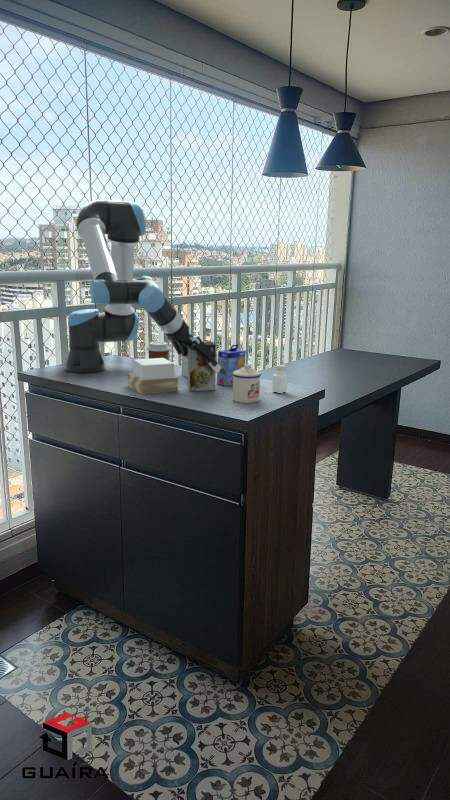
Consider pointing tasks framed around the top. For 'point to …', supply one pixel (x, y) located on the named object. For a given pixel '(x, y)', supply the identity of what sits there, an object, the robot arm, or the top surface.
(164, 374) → the tower top
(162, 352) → the coffee cup
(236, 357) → the blue upright box
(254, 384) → the teacup with lid
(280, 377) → the pepper shaker
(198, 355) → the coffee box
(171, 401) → the top surface
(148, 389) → the tower base
